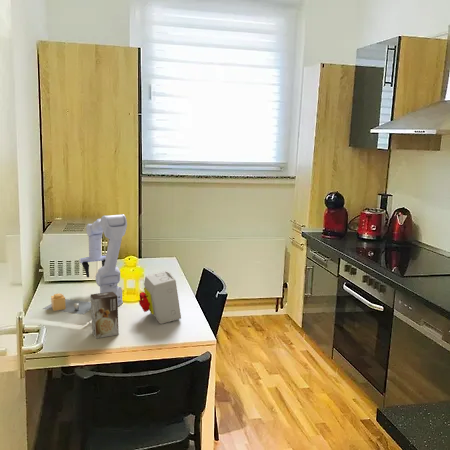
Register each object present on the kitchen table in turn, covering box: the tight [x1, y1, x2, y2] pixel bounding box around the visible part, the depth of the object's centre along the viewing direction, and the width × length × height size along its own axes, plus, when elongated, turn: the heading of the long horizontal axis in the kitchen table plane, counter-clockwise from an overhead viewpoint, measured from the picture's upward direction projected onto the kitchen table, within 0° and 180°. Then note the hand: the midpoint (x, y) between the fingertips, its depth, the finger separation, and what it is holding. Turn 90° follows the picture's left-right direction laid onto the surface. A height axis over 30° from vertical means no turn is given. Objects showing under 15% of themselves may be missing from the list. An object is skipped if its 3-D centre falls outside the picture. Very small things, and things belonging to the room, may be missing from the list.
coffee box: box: [90, 292, 120, 339], centre depth 193 cm, size 9×6×16 cm
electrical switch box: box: [138, 270, 182, 325], centre depth 210 cm, size 15×15×20 cm
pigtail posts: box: [74, 303, 79, 311], centre depth 215 cm, size 11×2×3 cm, turn 74°
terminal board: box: [42, 298, 91, 315], centre depth 219 cm, size 20×14×2 cm
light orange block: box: [50, 293, 66, 312], centre depth 216 cm, size 5×5×6 cm
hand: (95, 275), depth 237 cm, fingers open, 7 cm apart
